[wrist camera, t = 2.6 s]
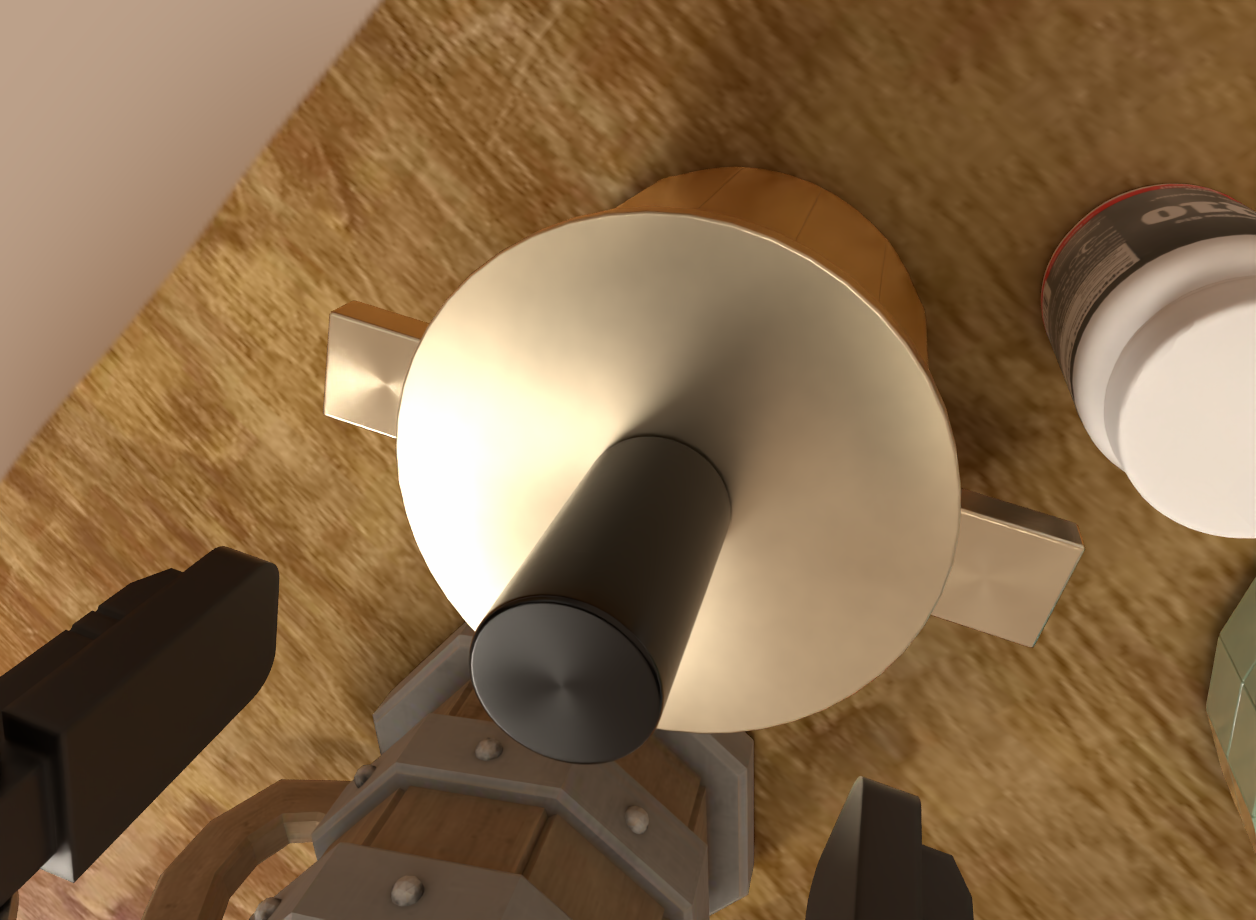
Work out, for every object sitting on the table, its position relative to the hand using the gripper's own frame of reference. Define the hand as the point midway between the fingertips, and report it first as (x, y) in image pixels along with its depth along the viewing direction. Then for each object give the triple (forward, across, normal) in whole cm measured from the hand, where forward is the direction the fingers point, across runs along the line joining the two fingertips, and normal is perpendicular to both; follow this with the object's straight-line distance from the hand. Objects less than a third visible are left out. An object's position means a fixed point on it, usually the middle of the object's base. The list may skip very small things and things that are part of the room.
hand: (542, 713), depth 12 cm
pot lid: (+7, 0, 0) cm, 7 cm away
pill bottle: (+15, -9, -5) cm, 18 cm away
